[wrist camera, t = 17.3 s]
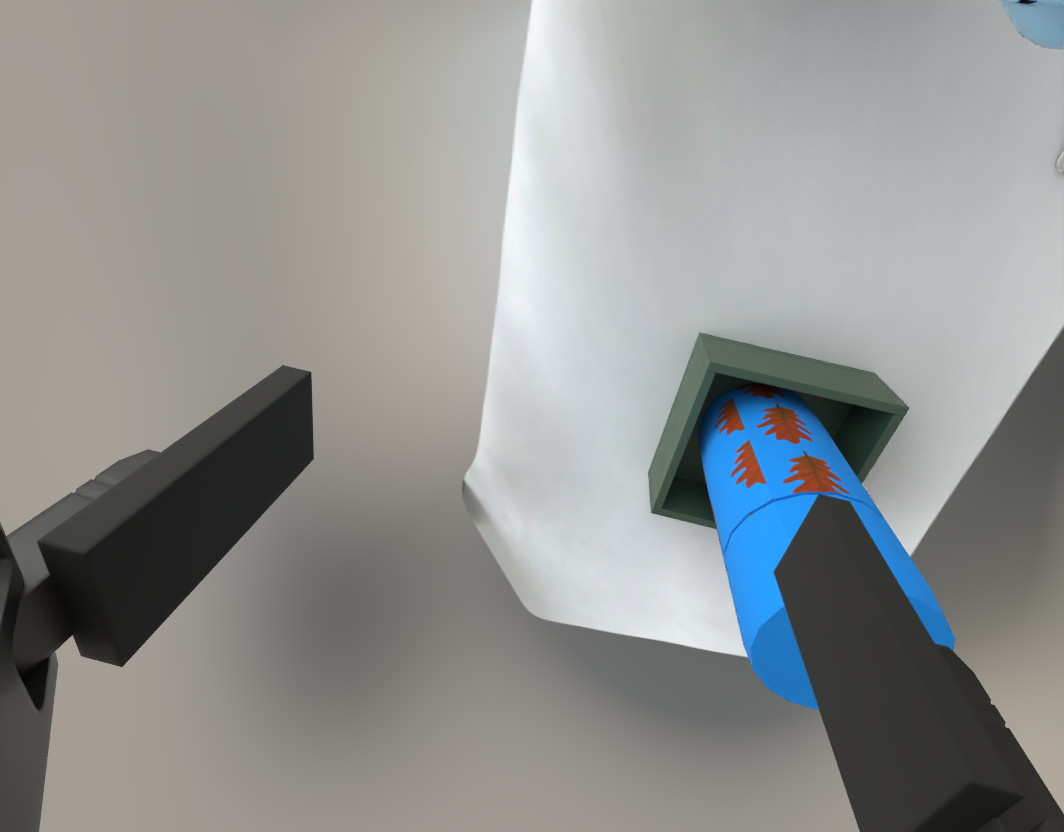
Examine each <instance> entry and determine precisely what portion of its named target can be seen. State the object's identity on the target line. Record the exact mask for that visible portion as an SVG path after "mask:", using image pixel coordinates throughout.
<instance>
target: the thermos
mask: <svg viewBox="0 0 1064 832" xmlns="http://www.w3.org/2000/svg"><path fill="white" fill-rule="evenodd" d="M698 437H699V444H700V452H701V459H702V466H703V471H704V476H705V480H706V484H707V489H708V493H709V497H710V502H711V506H712V510H713V515H714V519H715V523H716V528H717V532H718V536H719V541H720V545H721V549H722V554H723V558H724V562H725V567H726V571H727V575H728V580H729V584H730V588H731V593H732V597H733V601H734V606H735V610H736V614H737V619H738V623H739V627H740V632H741V636H742V640H743V645H744V647H745V650H746V652H747V655H748V657H749V660H750V662H751V665H752V668H753V670H754V671H755V672H756V674H757V675H758V676H759V678H760V679H761V680H762V682H763V683H764V685H765V686H766V687H767V688H768V689H770V690H772V691H773V692H775V693H776V694H778V695H780V696H781V697H783V698H784V699H786V700H787V701H790V702H793V703H797V704H800V705H803V706H806V707H810V708H813V709H816V710H819V707H818V704H817V701H816V698H815V695H814V692H813V689H812V686H811V683H810V680H809V677H808V674H807V671H806V668H805V665H804V662H803V659H802V656H801V653H800V650H799V647H798V644H797V641H796V638H795V635H794V632H793V629H792V626H791V623H790V620H789V617H788V614H787V611H786V608H785V605H784V602H783V599H782V596H781V593H780V590H779V587H778V584H777V581H776V578H775V575H774V570H775V568H776V567H777V565H778V563H779V561H780V560H781V558H782V556H783V555H784V553H785V551H786V549H787V548H788V546H789V544H790V543H791V541H792V539H793V537H794V536H795V534H796V532H797V531H798V529H799V527H800V525H801V524H802V522H803V520H804V519H805V517H806V515H807V513H808V512H809V510H810V508H811V507H812V505H813V503H814V501H815V500H816V498H817V496H818V495H819V494H822V495H826V496H831V497H835V498H839V499H843V500H847V501H850V502H851V504H852V506H853V507H854V509H855V511H856V512H857V514H858V516H859V517H860V519H861V521H862V522H863V524H864V526H865V527H866V529H867V531H868V532H869V534H870V536H871V537H872V539H873V541H874V542H875V544H876V546H877V547H878V549H879V551H880V553H881V554H882V556H883V558H884V559H885V561H886V563H887V564H888V566H889V568H890V569H891V571H892V573H893V574H894V576H895V578H896V579H897V581H898V583H899V584H900V586H901V588H902V589H903V591H904V593H905V594H906V596H907V598H908V599H909V601H910V603H911V604H912V606H913V608H914V609H915V611H916V613H917V615H918V616H919V618H920V620H921V621H922V623H923V625H924V626H925V628H926V630H927V631H928V633H929V635H930V636H931V638H932V640H933V641H934V643H936V644H940V645H944V646H948V647H949V648H950V649H951V650H952V651H953V648H954V641H955V638H954V636H953V634H952V632H951V630H950V627H949V625H948V623H947V621H946V619H945V616H944V614H943V612H942V610H941V608H940V606H939V604H938V602H937V600H936V598H935V596H934V594H933V592H932V590H931V589H930V587H929V586H928V584H927V582H926V581H925V579H924V578H923V577H922V575H921V573H920V572H919V570H918V569H917V567H916V566H915V564H914V563H913V561H912V560H911V558H910V557H909V555H908V554H907V552H906V551H905V549H904V548H903V546H902V545H901V543H900V542H899V540H898V538H897V537H896V535H895V534H894V532H893V531H892V529H891V528H890V526H889V525H888V523H887V522H886V520H885V519H884V517H883V516H882V514H881V513H880V511H879V510H878V508H877V507H876V505H875V504H874V502H873V501H872V499H871V497H870V496H869V494H868V493H867V491H866V490H865V488H864V487H863V485H862V484H861V482H860V481H859V479H858V478H857V476H856V475H855V473H854V472H853V470H852V469H851V467H850V466H849V464H848V463H847V461H846V460H845V458H844V457H843V455H842V453H841V452H840V450H839V449H838V447H837V446H836V444H835V443H834V441H833V440H832V438H831V437H830V435H829V434H828V432H827V431H826V429H825V428H824V426H823V425H822V423H821V422H820V420H819V419H818V417H817V416H816V415H815V414H814V413H813V411H812V410H811V409H810V408H809V406H808V405H807V404H806V403H805V402H804V400H803V399H801V398H800V397H799V396H797V395H796V394H795V393H794V392H792V391H791V390H789V389H785V388H780V387H776V386H772V385H768V384H763V383H749V384H746V385H743V386H740V387H737V388H733V389H730V390H728V391H727V392H726V393H724V394H723V395H721V396H720V397H718V398H717V399H715V400H714V401H713V402H712V403H711V405H710V406H709V407H708V409H707V410H706V411H705V413H704V414H703V415H702V418H701V422H700V426H699V429H698Z"/></svg>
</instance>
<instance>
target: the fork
mask: <svg viewBox="0 0 1064 832" xmlns="http://www.w3.org/2000/svg"><path fill="white" fill-rule="evenodd" d="M1056 168H1057V169H1058V171H1059V172H1062V173H1064V151H1063V152H1062V154H1061V155H1060V157H1059V158H1058V160H1057V164H1056Z"/></svg>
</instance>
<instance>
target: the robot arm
mask: <svg viewBox="0 0 1064 832" xmlns="http://www.w3.org/2000/svg"><path fill="white" fill-rule="evenodd" d="M999 1H1000V3H1001V5H1002V6H1003V8H1004V10H1005V11H1006V13H1007V15H1008V16H1009V18H1010V19H1011V21H1012V23H1013V24H1014V26H1015V28H1016V29H1017V31H1018V32H1019V33H1020V34H1021V35H1022V36H1023V37H1025V38H1026V39H1028V40H1029V41H1031V42H1032V43H1034V44H1036V45H1040V46H1042V47H1045V48H1052V49H1063V50H1064V0H999ZM311 381H312V380H311V372H309V371H304V370H300V369H296V368H292V367H288V366H284V365H283V366H282V367H280V368H278V369H277V370H276V371H274V372H273V373H271V374H270V375H269V376H267V377H266V378H264V379H263V380H262V381H260V382H259V383H258V384H256V385H255V386H253V387H252V388H251V389H249V390H248V391H246V392H245V393H243V394H242V395H241V396H239V397H238V398H236V399H235V400H234V401H232V402H231V403H229V404H228V405H227V406H225V407H224V408H223V409H221V410H220V411H218V412H217V413H216V414H214V415H213V416H211V417H210V418H208V419H207V420H206V421H204V422H203V423H201V424H200V425H199V426H197V427H196V428H195V429H193V430H192V431H190V432H189V433H187V434H186V435H185V436H183V437H182V438H181V439H179V440H178V441H176V442H175V443H173V444H172V445H171V446H169V447H168V448H167V449H165V450H164V451H162V452H161V453H160V452H156V451H152V450H145V451H143V452H140V453H138V454H135V455H132V456H130V457H127V458H125V459H122V460H119V461H118V462H116V463H115V464H113V465H112V466H110V467H109V468H107V469H106V470H104V471H103V472H101V473H100V474H99V475H97V476H96V478H95V479H94V480H89V481H88V482H86V483H85V484H83V485H82V486H80V487H79V488H77V489H76V492H75V493H70V494H68V495H67V496H66V497H64V498H62V499H61V500H60V501H58V502H57V503H55V504H54V505H52V506H51V507H49V508H48V509H46V510H45V511H43V512H42V513H40V514H39V515H37V516H36V517H34V518H33V519H32V520H30V521H29V522H27V523H25V524H24V525H22V526H21V527H19V528H18V529H16V530H15V531H13V532H12V533H10V534H9V535H7V536H6V535H5V533H4V530H3V528H2V525H1V523H0V832H39V827H40V818H41V809H42V801H43V800H42V799H43V792H44V783H45V774H46V766H47V757H48V748H49V739H50V730H51V721H52V713H53V704H54V696H55V687H56V678H57V669H58V662H57V657H56V653H55V651H56V650H57V649H58V648H59V647H60V646H61V645H62V644H63V643H64V642H65V641H66V640H67V639H68V638H69V637H71V636H72V635H73V637H74V639H75V641H76V644H77V647H78V649H79V652H80V654H81V656H83V657H86V658H90V659H94V660H98V661H101V662H105V663H109V664H113V665H116V666H120V667H123V665H125V663H126V662H127V661H128V660H129V659H130V658H131V657H132V656H133V655H134V654H135V653H136V651H137V650H138V649H139V648H140V647H141V646H142V645H143V644H144V643H145V642H146V640H148V638H149V637H150V636H151V635H152V634H153V633H154V632H155V631H156V630H157V629H158V628H159V626H160V625H161V624H162V623H163V622H164V621H165V620H166V619H167V618H168V617H169V615H171V613H172V612H173V611H174V610H175V609H176V608H177V607H178V606H179V604H181V603H182V602H183V600H184V599H185V598H186V597H187V596H188V595H189V594H190V593H191V592H192V591H193V590H194V588H195V587H196V586H197V585H198V584H199V583H200V582H201V581H202V580H203V579H204V578H205V576H206V575H207V574H208V573H209V572H210V571H211V570H212V569H213V568H214V567H215V566H216V565H217V563H218V562H219V561H220V560H221V559H222V558H223V557H224V556H225V555H226V554H227V553H228V551H229V550H230V549H231V548H232V547H233V546H234V545H235V544H236V543H237V542H238V541H239V539H240V538H241V537H242V536H243V535H244V534H245V533H246V532H247V531H248V530H249V529H250V528H251V526H252V525H253V524H254V523H255V522H256V521H257V520H258V519H259V518H260V517H261V515H262V514H263V513H264V512H265V511H266V510H267V509H268V508H269V507H270V506H271V505H272V503H274V501H275V500H276V499H277V498H278V497H279V496H280V495H281V494H282V493H283V492H284V490H285V489H286V488H287V487H288V486H289V485H290V484H291V483H292V482H293V481H294V480H295V479H296V477H297V476H298V475H299V474H300V473H301V472H302V471H303V470H304V469H305V467H307V465H308V464H309V463H310V462H311V461H312V460H313V459H314V452H313V418H312V417H313V416H312V382H311ZM774 575H775V578H776V581H777V584H778V587H779V590H780V593H781V596H782V599H783V602H784V605H785V608H786V611H787V614H788V617H789V620H790V623H791V626H792V629H793V632H794V635H795V638H796V641H797V644H798V647H799V650H800V653H801V656H802V659H803V662H804V665H805V668H806V671H807V674H808V677H809V680H810V683H811V686H812V689H813V692H814V695H815V698H816V701H817V704H818V707H819V710H820V713H821V716H822V719H823V722H824V725H825V728H826V731H827V734H828V737H829V740H830V743H831V746H832V749H833V752H834V755H835V758H836V761H837V764H838V767H839V770H840V773H841V776H842V779H843V782H844V785H845V788H846V791H847V794H848V797H849V800H850V803H851V806H852V809H853V812H854V815H855V818H856V821H857V824H858V827H859V830H860V832H1064V814H1063V813H1062V811H1061V809H1060V807H1059V806H1058V805H1057V803H1056V801H1055V800H1054V798H1053V797H1052V795H1051V793H1050V792H1049V790H1048V789H1047V787H1046V785H1045V784H1044V782H1043V781H1042V779H1041V778H1040V776H1039V774H1038V773H1037V771H1036V770H1035V768H1034V767H1033V765H1032V764H1031V762H1030V760H1029V759H1028V757H1027V756H1026V754H1025V752H1024V751H1023V749H1022V748H1021V746H1020V745H1019V743H1018V741H1017V740H1016V738H1015V737H1014V735H1013V734H1012V732H1011V730H1010V729H1009V728H1006V727H1005V721H1004V719H1003V718H1002V716H1001V715H1000V713H999V712H998V710H997V709H996V707H995V705H991V703H990V701H991V699H990V698H989V696H988V694H987V693H986V691H985V690H984V688H983V687H982V685H981V683H980V682H979V680H978V679H977V677H976V675H975V674H974V672H973V671H972V670H971V669H970V668H969V667H968V666H967V665H966V664H965V663H964V662H963V661H962V660H961V659H960V658H959V657H958V656H957V655H956V654H955V653H954V652H953V651H952V650H951V649H950V648H949V647H948V646H944V645H940V644H936V643H934V641H933V640H932V638H931V636H930V635H929V633H928V631H927V630H926V628H925V626H924V625H923V623H922V621H921V620H920V618H919V616H918V615H917V613H916V611H915V609H914V608H913V606H912V604H911V603H910V601H909V599H908V598H907V596H906V594H905V593H904V591H903V589H902V588H901V586H900V584H899V583H898V581H897V579H896V578H895V576H894V574H893V573H892V571H891V569H890V568H889V566H888V564H887V563H886V561H885V559H884V558H883V556H882V554H881V553H880V551H879V549H878V547H877V546H876V544H875V542H874V541H873V539H872V537H871V536H870V534H869V532H868V531H867V529H866V527H865V526H864V524H863V522H862V521H861V519H860V517H859V516H858V514H857V512H856V511H855V509H854V507H853V506H852V504H851V502H850V501H847V500H843V499H839V498H835V497H831V496H826V495H822V494H819V495H818V496H817V498H816V500H815V501H814V503H813V505H812V507H811V508H810V510H809V512H808V513H807V515H806V517H805V519H804V520H803V522H802V524H801V525H800V527H799V529H798V531H797V532H796V534H795V536H794V537H793V539H792V541H791V543H790V544H789V546H788V548H787V549H786V551H785V553H784V555H783V556H782V558H781V560H780V561H779V563H778V565H777V567H776V568H775V570H774Z"/></svg>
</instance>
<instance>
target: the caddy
mask: <svg viewBox="0 0 1064 832" xmlns="http://www.w3.org/2000/svg"><path fill="white" fill-rule="evenodd" d="M749 383H763V384H768V385H772V386H776V387H780V388H785V389H789V390H791V391H792V392H794V393H795V394H796V395H797V396H799V397H800V398H801V399H803V400H804V402H805V403H806V404H807V405H808V406H809V408H810V409H811V410H812V411H813V413H814V414H815V415H816V416H817V417H818V419H819V420H820V422H821V423H822V425H823V426H824V428H825V429H826V431H827V432H828V434H829V435H830V437H831V438H832V440H833V441H834V443H835V444H836V446H837V447H838V449H839V450H840V452H841V453H842V455H843V457H844V458H845V460H846V461H847V463H848V464H849V466H850V467H851V469H852V470H853V472H854V473H855V475H856V476H857V478H858V479H859V481H860V482H861V484H862V483H863V481H864V480H865V478H866V476H867V475H868V473H869V472H870V470H871V468H872V467H873V465H874V464H875V462H876V461H877V459H878V457H879V456H880V454H881V453H882V451H883V449H884V448H885V446H886V445H887V443H888V441H889V440H890V438H891V437H892V435H893V433H894V432H895V430H896V429H897V427H898V425H899V424H900V422H901V421H902V419H903V417H904V416H905V415H906V413H907V411H908V410H909V407H908V406H907V405H906V404H905V403H904V402H903V401H902V400H901V399H900V398H899V397H898V396H897V395H896V394H895V393H894V392H893V391H892V390H891V389H890V388H889V387H888V386H887V385H886V384H885V383H884V382H883V381H882V380H881V379H880V378H879V377H878V376H877V375H876V374H875V373H872V372H868V371H863V370H859V369H854V368H850V367H846V366H841V365H837V364H833V363H828V362H824V361H820V360H815V359H811V358H807V357H802V356H798V355H793V354H789V353H785V352H780V351H776V350H772V349H767V348H763V347H759V346H754V345H750V344H746V343H741V342H737V341H733V340H728V339H724V338H719V337H715V336H711V335H706V334H702V333H699V335H698V338H697V341H696V344H695V346H694V349H693V352H692V354H691V357H690V360H689V363H688V365H687V368H686V371H685V374H684V376H683V379H682V382H681V384H680V387H679V390H678V393H677V395H676V398H675V401H674V403H673V406H672V409H671V412H670V414H669V417H668V420H667V423H666V425H665V428H664V431H663V433H662V436H661V439H660V442H659V444H658V447H657V450H656V453H655V455H654V458H653V461H652V463H651V466H650V469H649V472H648V476H649V491H650V505H651V513H653V514H657V515H661V516H666V517H670V518H674V519H678V520H682V521H686V522H690V523H694V524H698V525H702V526H707V527H711V528H715V529H717V528H716V523H715V519H714V515H713V510H712V506H711V502H710V497H709V493H708V489H707V484H706V480H705V476H704V471H703V466H702V459H701V452H700V444H699V437H698V429H699V426H700V422H701V418H702V415H703V414H704V413H705V411H706V410H707V409H708V407H709V406H710V405H711V403H712V402H713V401H714V400H715V399H717V398H718V397H720V396H721V395H723V394H724V393H726V392H727V391H728V390H730V389H733V388H737V387H740V386H743V385H746V384H749Z"/></svg>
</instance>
